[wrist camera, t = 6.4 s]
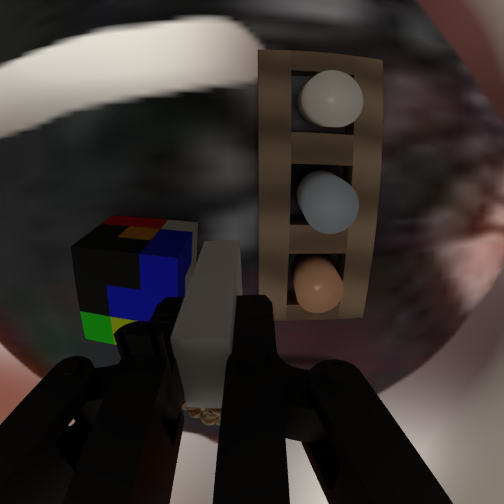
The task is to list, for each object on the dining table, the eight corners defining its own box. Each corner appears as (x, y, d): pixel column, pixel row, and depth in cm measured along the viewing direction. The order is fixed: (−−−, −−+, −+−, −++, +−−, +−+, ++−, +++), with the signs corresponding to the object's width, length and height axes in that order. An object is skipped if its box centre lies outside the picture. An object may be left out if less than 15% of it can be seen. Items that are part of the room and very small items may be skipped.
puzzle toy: (198, 222, 35) (177, 258, 26) (195, 302, 39) (179, 354, 29) (113, 215, 35) (70, 246, 25) (118, 292, 38) (85, 338, 29)
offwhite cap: (297, 77, 27) (305, 67, 22) (346, 80, 27) (363, 73, 22) (297, 125, 29) (305, 125, 24) (346, 128, 29) (363, 129, 24)
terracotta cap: (292, 250, 35) (297, 270, 31) (335, 250, 35) (346, 269, 30) (290, 290, 37) (294, 313, 32) (331, 289, 37) (340, 312, 32)
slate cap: (296, 169, 30) (304, 177, 26) (345, 171, 30) (360, 179, 25) (295, 217, 32) (302, 233, 27) (342, 218, 32) (356, 234, 27)
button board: (257, 56, 28) (258, 49, 25) (372, 64, 28) (382, 60, 25) (258, 306, 39) (258, 320, 36) (355, 304, 38) (362, 317, 36)
